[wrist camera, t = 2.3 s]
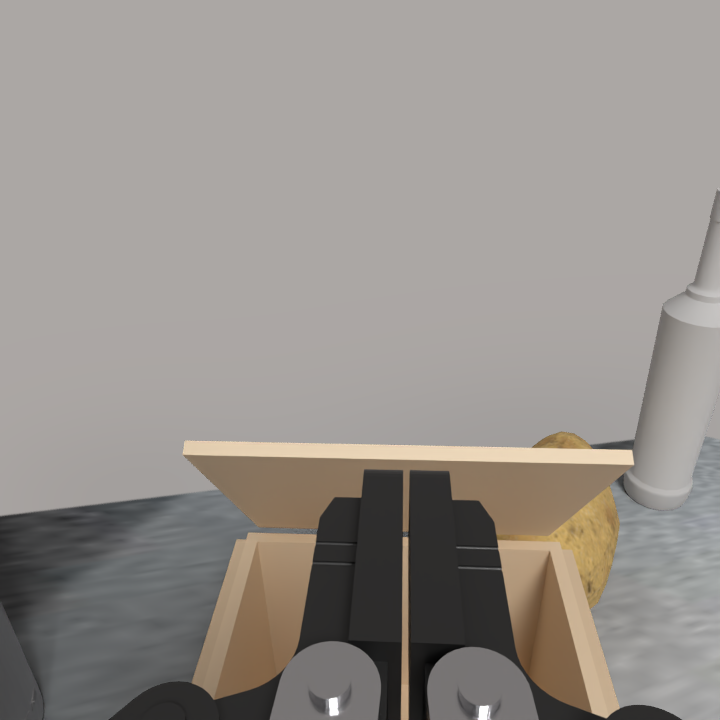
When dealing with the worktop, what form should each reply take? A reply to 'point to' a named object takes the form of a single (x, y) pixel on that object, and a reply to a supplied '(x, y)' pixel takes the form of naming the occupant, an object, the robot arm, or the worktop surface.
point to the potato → (584, 529)
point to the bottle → (680, 386)
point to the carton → (403, 620)
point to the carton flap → (465, 464)
